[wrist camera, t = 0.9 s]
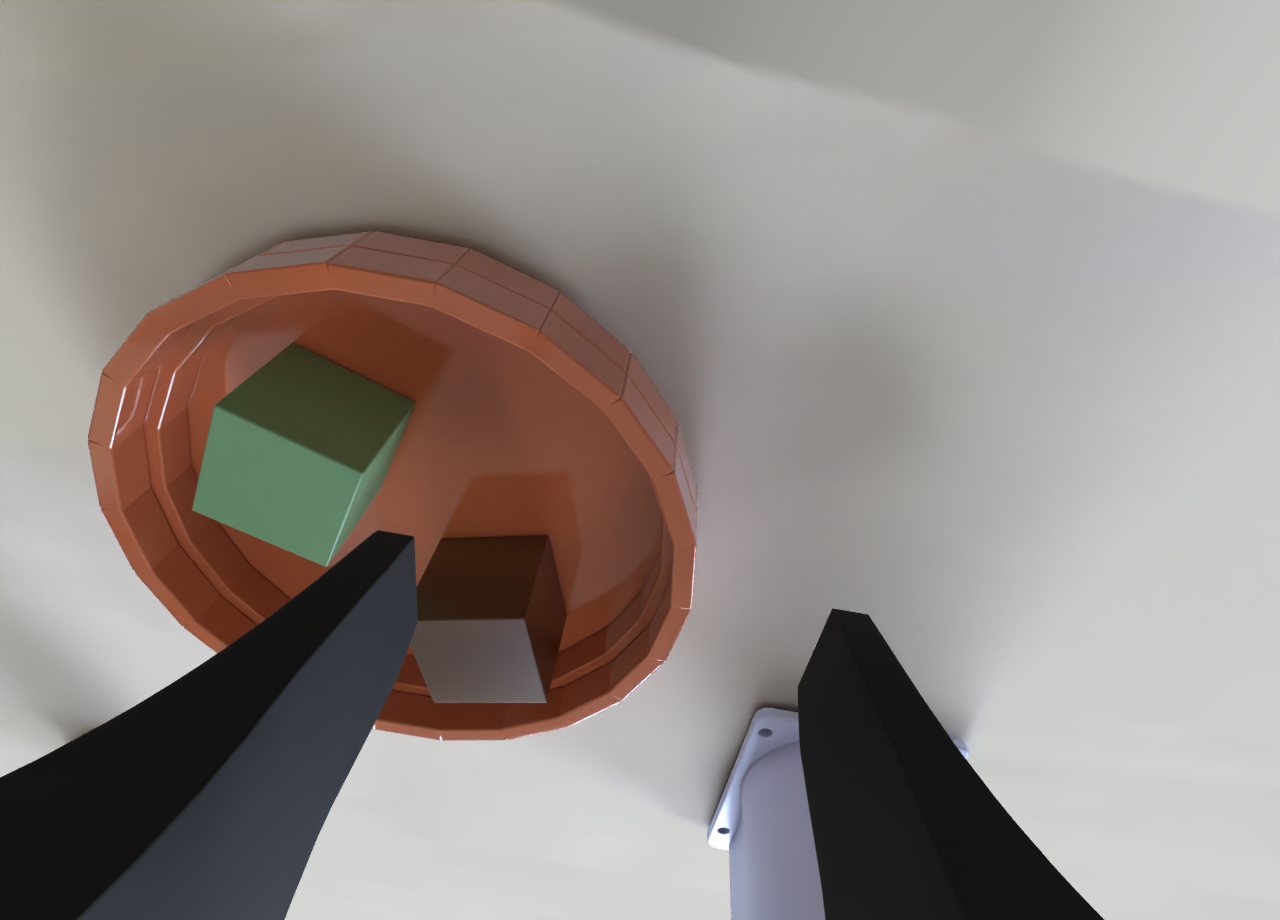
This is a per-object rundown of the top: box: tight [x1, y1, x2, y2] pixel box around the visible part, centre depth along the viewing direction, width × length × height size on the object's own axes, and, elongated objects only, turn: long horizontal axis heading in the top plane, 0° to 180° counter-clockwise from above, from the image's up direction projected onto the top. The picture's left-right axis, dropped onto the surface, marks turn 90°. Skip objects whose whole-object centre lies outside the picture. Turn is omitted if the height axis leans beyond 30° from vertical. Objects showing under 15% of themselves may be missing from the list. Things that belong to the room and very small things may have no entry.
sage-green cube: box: [192, 343, 415, 567], centre depth 18 cm, size 4×4×4 cm
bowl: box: [88, 231, 697, 740], centre depth 20 cm, size 16×16×3 cm
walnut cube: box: [410, 535, 567, 703], centre depth 21 cm, size 4×4×4 cm
